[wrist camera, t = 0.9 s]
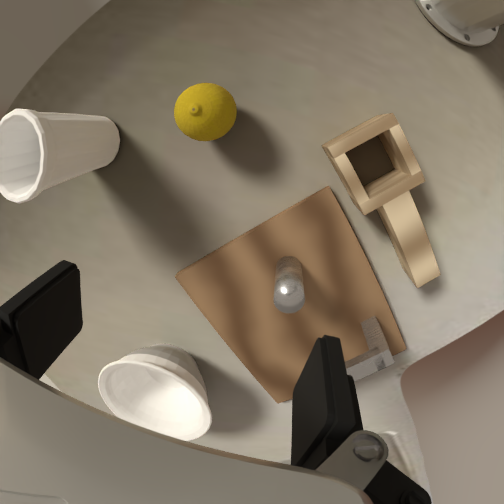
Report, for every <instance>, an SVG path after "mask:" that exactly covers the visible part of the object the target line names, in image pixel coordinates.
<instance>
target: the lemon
mask: <svg viewBox="0 0 504 504" xmlns="http://www.w3.org/2000/svg"><path fill="white" fill-rule="evenodd" d="M236 114H237V109H236V104H235V101H234V99H233V97H232V96H231V94H230V93H229V92H228V91H227V90H226V89H224V88H223V87H221V86H218V85H216V84H211V83H201V84H196V85H194V86H191V87H189V88H188V89H186V90H185V91H184V92H183V93H182V94H181V95H180V96H179V98H178V100H177V101H176V104H175V108H174V117H175V121H176V123H177V125H178V127H179V129H180V130H181V131H182V132H183V133H184V134H185V135H187V136H189V137H190V138H192V139H195V140H198V141H211V140H216V139H218V138H220V137H222V136H224V135H225V134H226V133H227V132H228V131H229V130H230V129H231V128H232V126H233V124H234V122H235V120H236Z"/></svg>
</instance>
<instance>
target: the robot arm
mask: <svg viewBox="0 0 504 504" xmlns="http://www.w3.org/2000/svg"><path fill="white" fill-rule="evenodd" d="M415 1H416V3H417V5H418V7H419V8H420V10H421V11H422V13H423V14H424V15H425V17H426V18H427V19H428V20H429V21H430V22H431V23H432V24H433V25H434V26H435V27H436V28H437V29H438V30H439V31H440V32H442V33H443V34H444V35H446V36H447V37H449V38H451V39H452V40H454V41H456V42H458V43H461V44H463V45H467V46H475V47H478V46H482V45H485V44H488V43H490V42H491V41H493V40H494V38H495V37H496V35H497V33H498V29H499V25H502V24H504V0H415ZM82 325H83V320H82V307H81V290H80V271H79V269H77V266H76V264H74V263H71V262H68V261H65V260H63V261H61V262H59V263H58V264H56V265H55V266H54V267H52V268H51V269H49V270H48V271H47V272H45V273H44V274H42V275H41V276H40V277H38V278H37V279H36V280H34V281H33V282H32V283H30V284H29V285H28V286H26V287H25V288H24V289H22V290H21V291H20V292H18V293H17V294H16V295H14V296H13V297H12V298H11V299H9V300H8V301H7V302H6V303H4V304H3V305H2V306H1V307H0V504H431V499H430V496H429V494H428V493H427V492H426V491H425V490H424V489H423V488H422V487H421V486H419V485H418V484H417V483H415V482H414V481H413V480H411V479H410V478H409V477H407V476H406V475H405V474H403V473H402V472H401V471H399V470H398V469H397V468H396V467H394V466H393V465H392V464H390V463H389V462H388V461H387V460H386V459H387V457H388V447H387V444H386V443H385V441H384V440H383V439H382V438H381V437H380V436H379V435H377V434H376V433H374V432H371V431H367V430H363V425H362V420H361V414H360V409H359V404H358V399H357V394H356V389H355V384H354V379H353V377H352V376H351V375H347V371H346V366H345V361H344V356H343V351H342V346H341V341H340V338H338V337H334V336H329V335H324V336H323V337H322V338H319V337H318V338H317V340H316V342H315V344H314V346H313V349H312V351H311V353H310V355H309V357H308V360H307V362H306V364H305V366H304V368H303V370H302V372H301V374H300V377H299V379H298V381H297V383H296V385H295V387H294V390H293V400H292V448H291V465H288V464H283V463H278V462H272V461H267V460H261V459H256V458H251V457H247V456H242V455H238V454H233V453H229V452H225V451H221V450H217V449H213V448H209V447H205V446H201V445H197V444H194V443H190V442H187V441H184V440H180V439H177V438H174V437H171V436H167V435H164V434H161V433H158V432H155V431H152V430H150V429H147V428H144V427H141V426H138V425H136V424H133V423H130V422H128V421H125V420H123V419H120V418H118V417H115V416H113V415H110V414H108V413H106V412H103V411H101V410H99V409H96V408H94V407H92V406H90V405H87V404H85V403H83V402H81V401H79V400H77V399H75V398H73V397H71V396H69V395H66V394H64V393H62V392H61V391H59V390H57V389H55V388H53V387H51V386H49V385H47V384H45V383H43V382H41V381H40V380H39V379H40V378H41V377H42V375H43V374H44V373H45V372H46V370H47V369H48V368H49V367H50V366H51V364H52V363H53V362H54V361H55V360H56V359H57V357H58V356H59V355H60V354H61V353H62V352H63V350H64V349H65V348H66V347H67V346H68V345H69V344H70V342H71V341H72V340H73V339H74V338H75V337H76V336H77V334H78V333H79V332H80V331H81V329H82Z"/></svg>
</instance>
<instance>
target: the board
mask: <svg viewBox="0 0 504 504" xmlns="http://www.w3.org/2000/svg"><path fill="white" fill-rule="evenodd" d="M285 256H293V257H295V258H297V259H298V260H299V261H300V263H301V265H302V275H303V285H304V295H305V302H304V305H303V307H302V308H301V309H300V310H299V311H297V312H295V313H283V312H281V311H279V310H278V309H277V308H276V307H275V305H274V301H273V299H274V287H275V274H276V265H277V262H278V261H279V260H280V259H281V258H282V257H285ZM175 278H176V279H177V280H178V282H179V283H180V284H181V286H182V287H183V288H184V290H185V291H186V292H187V294H188V295H189V296H190V298H191V299H192V300H193V302H194V303H195V304H196V306H197V307H198V308H199V309H200V311H201V312H202V313H203V315H204V316H205V317H206V318H207V320H208V321H209V322H210V324H211V325H212V326H213V327H214V329H215V330H216V331H217V332H218V334H219V335H220V336H221V337H222V339H223V340H224V341H225V342H226V344H227V345H228V346H229V347H230V348H231V350H232V351H233V352H234V353H235V355H236V356H237V357H238V358H239V359H240V361H241V362H242V363H243V364H244V365H245V367H246V368H247V369H248V370H249V371H250V372H251V374H252V375H253V376H254V377H255V378H256V379H257V381H258V382H259V383H260V384H261V385H262V386H263V388H264V389H265V390H266V391H267V392H268V393H269V394H270V396H271V397H272V398H273V399H274V400H275V401H276V402H277V403H281V402H284V401H287V400H290V399H292V398H293V390H294V387H295V385H296V383H297V381H298V379H299V377H300V374H301V372H302V370H303V368H304V366H305V364H306V362H307V360H308V357H309V355H310V353H311V351H312V349H313V346H314V344H315V342H316V340H317V338H318V337H319V338H322V337H323V336H324V335H329V336H334V337H338V338H340V341H341V346H342V351H343V356H344V361H348V360H350V359H352V358H354V357H356V356H358V355H361V354H363V353H365V352H367V351H369V347H368V344H367V341H366V338H365V335H364V332H363V329H362V326H361V322H363V321H365V320H367V319H369V318H371V317H373V316H376V318H377V321H378V323H379V325H380V327H381V329H382V332H383V334H384V336H385V339H386V341H387V344H388V346H389V349H390V352H391V354H392V356H394V355H396V354H398V353H400V352H402V351H404V350H405V349H406V346H405V344H404V341H403V339H402V336H401V334H400V331H399V329H398V327H397V324H396V322H395V319H394V317H393V315H392V312H391V310H390V308H389V305H388V303H387V301H386V299H385V296H384V294H383V292H382V290H381V288H380V285H379V283H378V281H377V279H376V277H375V275H374V273H373V270H372V268H371V266H370V264H369V262H368V260H367V258H366V256H365V254H364V252H363V250H362V248H361V246H360V244H359V242H358V240H357V238H356V236H355V234H354V232H353V230H352V228H351V226H350V224H349V222H348V220H347V218H346V217H345V215H344V213H343V211H342V209H341V207H340V205H339V203H338V202H337V200H336V198H335V196H334V194H333V193H332V191H331V189H330V187H329V186H327V187H325V188H323V189H322V190H320V191H318V192H316V193H314V194H313V195H311V196H309V197H307V198H306V199H304V200H302V201H300V202H298V203H297V204H295V205H293V206H291V207H290V208H288V209H286V210H284V211H283V212H281V213H279V214H277V215H276V216H274V217H272V218H270V219H269V220H267V221H265V222H263V223H262V224H260V225H258V226H256V227H255V228H253V229H251V230H249V231H248V232H246V233H244V234H243V235H241V236H239V237H237V238H236V239H234V240H232V241H230V242H229V243H227V244H225V245H224V246H222V247H220V248H218V249H217V250H215V251H213V252H212V253H210V254H208V255H207V256H205V257H203V258H201V259H200V260H198V261H196V262H195V263H193V264H191V265H190V266H188V267H186V268H184V269H183V270H181V271H179V272H178V273H177V274H176V276H175Z"/></svg>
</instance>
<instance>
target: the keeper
mask: <svg viewBox="0 0 504 504" xmlns="http://www.w3.org/2000/svg"><path fill="white" fill-rule="evenodd" d="M361 326H362V329H363V332H364V335H365V338H366V341H367V344H368V347H369V351H367V352H365V353H363V354H361V355H358V356H356V357H354V358H352V359H350V360H348V361H345V366H346V371H347V375H351V376H352V377H353V379H354V382H355V381H357V380H360V379H362V378H364V377H366V376H368V375H371V374H373V373H375V372H377V371H379V370H381V369H384V368H386V367H388V366H390V365H392V364H394V363H395V362H394V359H393V357H392V354H391V352H390V349H389V346H388V344H387V341H386V339H385V336H384V334H383V332H382V329H381V327H380V325H379V323H378V321H377V318H376V316H373V317H371V318H369V319H367V320H365V321H363V322H361Z"/></svg>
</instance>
